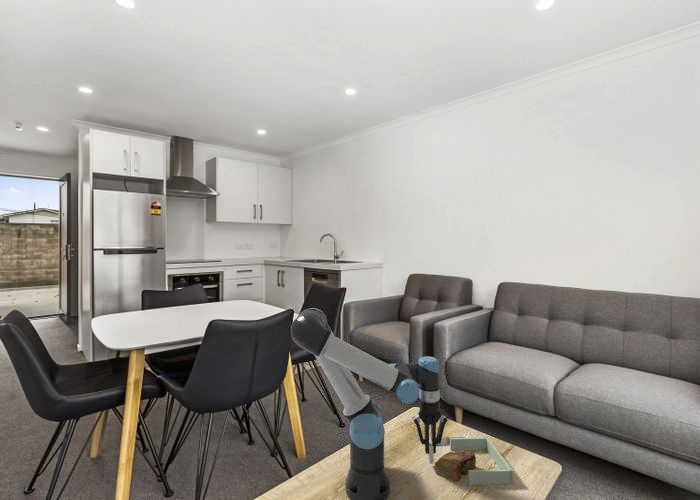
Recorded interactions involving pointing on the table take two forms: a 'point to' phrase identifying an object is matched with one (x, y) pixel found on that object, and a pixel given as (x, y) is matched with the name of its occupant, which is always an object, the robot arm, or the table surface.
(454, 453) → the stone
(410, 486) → the table surface
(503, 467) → the mint green u-channel
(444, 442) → the trowel
